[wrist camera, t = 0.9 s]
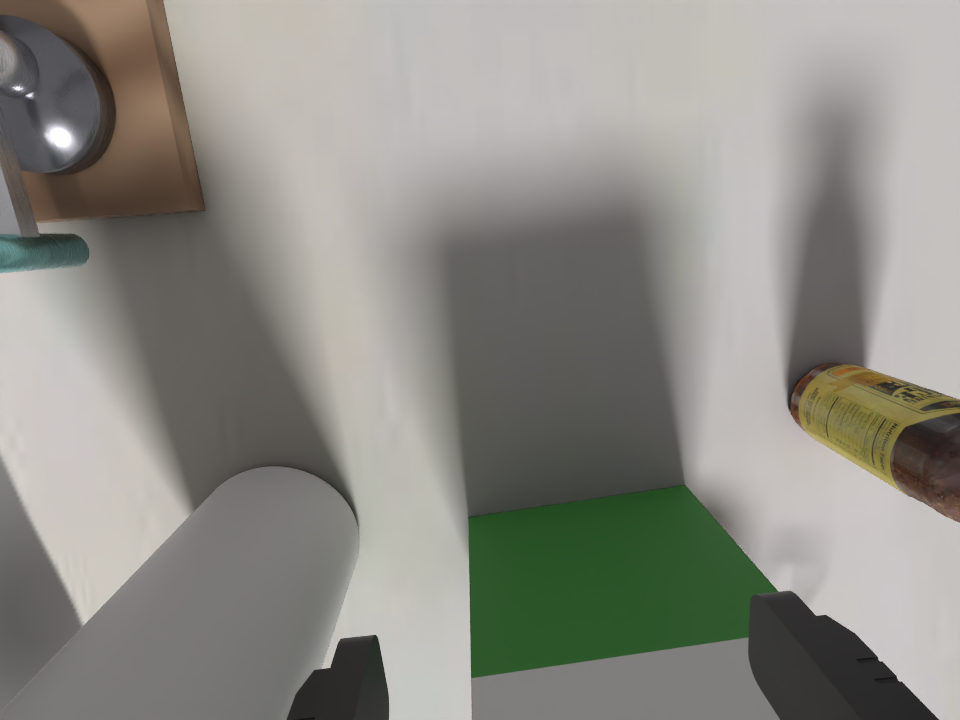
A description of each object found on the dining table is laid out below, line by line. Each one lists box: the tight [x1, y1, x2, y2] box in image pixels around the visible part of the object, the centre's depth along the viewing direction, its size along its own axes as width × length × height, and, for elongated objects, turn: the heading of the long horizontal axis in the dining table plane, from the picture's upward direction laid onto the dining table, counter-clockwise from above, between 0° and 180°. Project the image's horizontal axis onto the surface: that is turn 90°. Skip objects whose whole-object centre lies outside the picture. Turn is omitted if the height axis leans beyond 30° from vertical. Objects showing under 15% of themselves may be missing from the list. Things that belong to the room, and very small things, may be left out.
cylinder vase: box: [0, 466, 360, 720], centre depth 28 cm, size 12×12×25 cm
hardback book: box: [469, 485, 780, 720], centre depth 30 cm, size 18×7×24 cm, turn 98°
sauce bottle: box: [790, 363, 960, 522], centre depth 29 cm, size 7×6×20 cm
